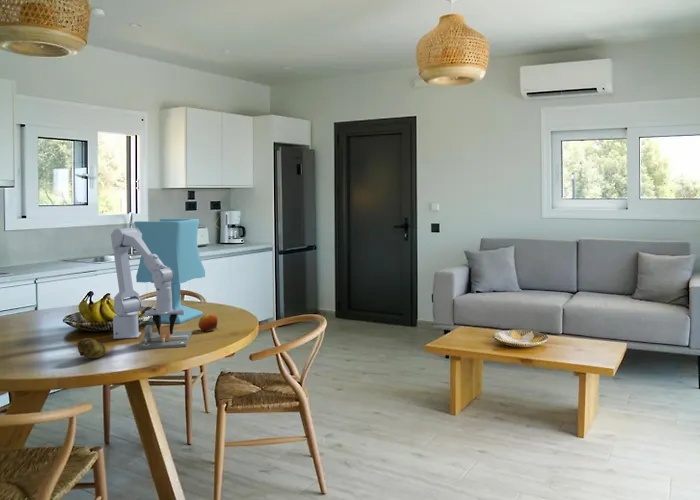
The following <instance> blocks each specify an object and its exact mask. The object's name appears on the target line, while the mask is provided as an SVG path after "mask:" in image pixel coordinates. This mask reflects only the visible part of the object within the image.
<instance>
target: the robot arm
mask: <svg viewBox="0 0 700 500" xmlns="http://www.w3.org/2000/svg"><path fill="white" fill-rule="evenodd" d="M110 239H111V247H112V251H113V257H114V265H115V270H116V271H115V272H116V278H117V283H118V284H117V286H118V293H117V294H116V295H115V296H114V297H113V298H114V299H113V301H114V302H113V310H114V313H115V315H113V319H112V327H113V328H112V329H113V340H114V339H115V340H117V339H135V338H139V337H140V336H141V335H142V332H141V331H139V314H140V311H141V310H142V307H143V303H142V301H141V299H140V293H138V292H137V291H136V290H134V287H133V279H132V274H131V273H132V272H131V266H130V265H131V264H130V258H129V250H130V249H131V248H133V249H134V250H136V251H137V253H138V254H139V255H140V257H141V256H142V257H143V258H144V264H145V266H146V267H147V268H148V269H149V271H150V272H151V273H152V275H153V276H152V280H153V282H154V283H153V284H154V288H155V293H156V294H155V295H156V309H154V310H145V311H144V317H148V316H153V318H152V319H153V321H154V322H153V323H154V324H155V326H156V329H157V333H159V335H160V326H161V325H162V323H161V316H167V315H170V317H169V320H170V323H169V324H170V334H173V332H174V326H175V324H174V323H175V320H176V318H177V315H184V309H172V290H171V282H172V281H173V279H174V272H173V270H172V269H171V268H170V267H167V266H165V265H164V264H163V263H162V261H161V260H160V259H159V258H158V256H157V255H156V254H151V252H150V251H149V249H148V247H147V246H146V244H145V243H144V241H143V240H142V233H141V232H140V231H139V229H138V228H137V227H135V226H133V227H126V228H125V227H124V228H115V229H114V230H113V231H112V233H110Z"/></svg>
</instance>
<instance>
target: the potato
mask: <svg viewBox="0 0 700 500" xmlns="http://www.w3.org/2000/svg"><path fill="white" fill-rule="evenodd" d="M76 346H77V351H78V353H79V356H81V357H86V358H90V359H100V358H102V357H103V356H104V355H105V352H106V348H105V345H104V344H103V343H101V342H99V341H98V340H96V339H95V338H90V337H86V338H82V339H80V341H78V342H77V345H76Z"/></svg>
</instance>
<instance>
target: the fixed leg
mask: <svg viewBox="0 0 700 500" xmlns="http://www.w3.org/2000/svg"><path fill="white" fill-rule="evenodd" d="M143 330H144V333H143V334H144V335H143V337H144V338H145V344H147V342H151V337H152V333H153V325H152V324H146V325H145V327H144V328H143Z"/></svg>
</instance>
